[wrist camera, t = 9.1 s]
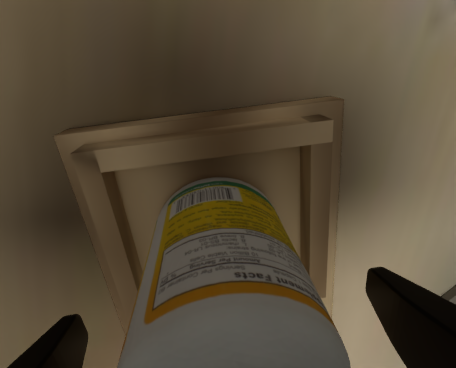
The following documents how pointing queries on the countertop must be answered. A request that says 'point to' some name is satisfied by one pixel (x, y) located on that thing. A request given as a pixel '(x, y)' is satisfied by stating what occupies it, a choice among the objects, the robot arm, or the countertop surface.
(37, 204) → the countertop surface
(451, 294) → the skyscraper
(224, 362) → the supplement bottle
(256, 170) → the caddy
